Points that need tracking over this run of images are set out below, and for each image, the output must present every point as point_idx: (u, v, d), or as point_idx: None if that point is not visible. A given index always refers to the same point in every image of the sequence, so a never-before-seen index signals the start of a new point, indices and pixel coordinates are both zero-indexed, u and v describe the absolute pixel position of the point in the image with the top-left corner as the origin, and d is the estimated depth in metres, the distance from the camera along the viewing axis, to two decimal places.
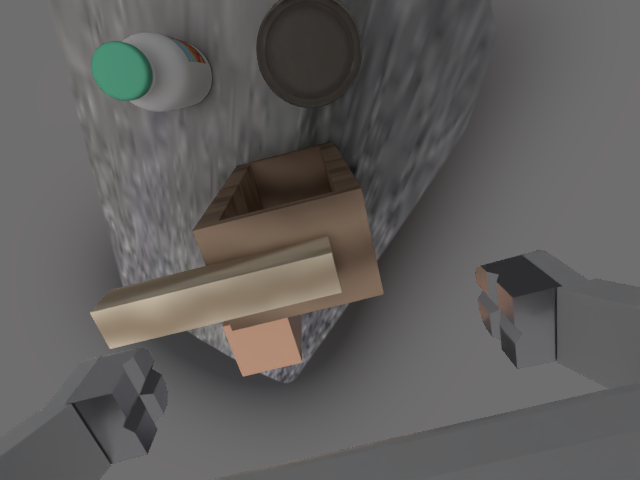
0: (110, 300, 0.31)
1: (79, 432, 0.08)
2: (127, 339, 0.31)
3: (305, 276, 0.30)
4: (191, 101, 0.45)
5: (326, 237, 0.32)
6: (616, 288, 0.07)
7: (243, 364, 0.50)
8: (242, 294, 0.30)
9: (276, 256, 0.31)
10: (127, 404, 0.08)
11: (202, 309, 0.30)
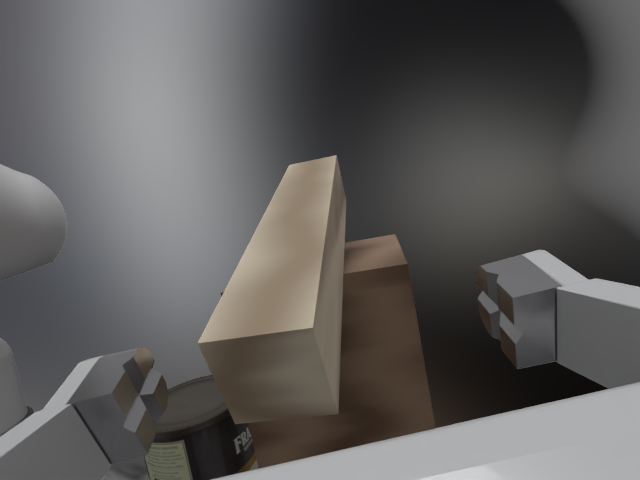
0: None
1: (79, 432, 0.08)
2: (303, 295, 0.12)
3: (304, 170, 0.26)
4: None
5: None
6: (616, 288, 0.07)
7: None
8: (298, 196, 0.22)
9: None
10: (127, 404, 0.08)
11: (298, 219, 0.18)
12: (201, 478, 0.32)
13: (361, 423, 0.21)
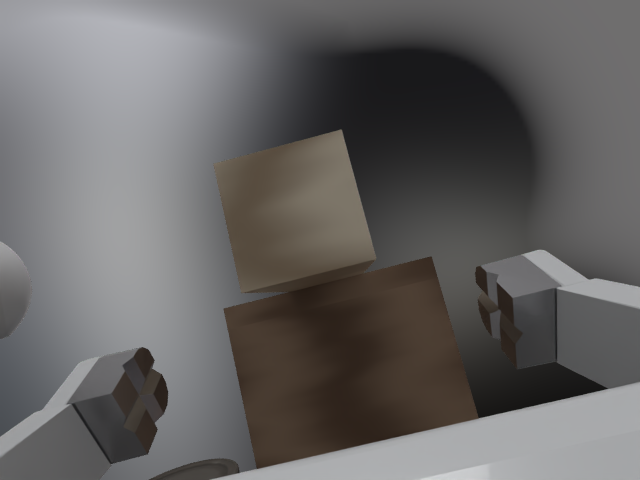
0: None
1: (79, 432, 0.08)
2: None
3: None
4: None
5: None
6: (616, 288, 0.07)
7: None
8: None
9: None
10: (127, 404, 0.08)
11: None
12: None
13: None
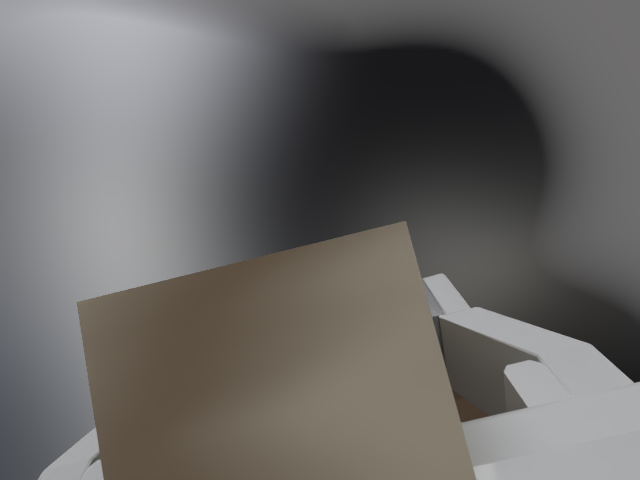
0: None
1: None
2: None
3: None
4: None
5: None
6: (489, 318, 0.07)
7: None
8: None
9: None
10: None
11: None
12: None
13: None
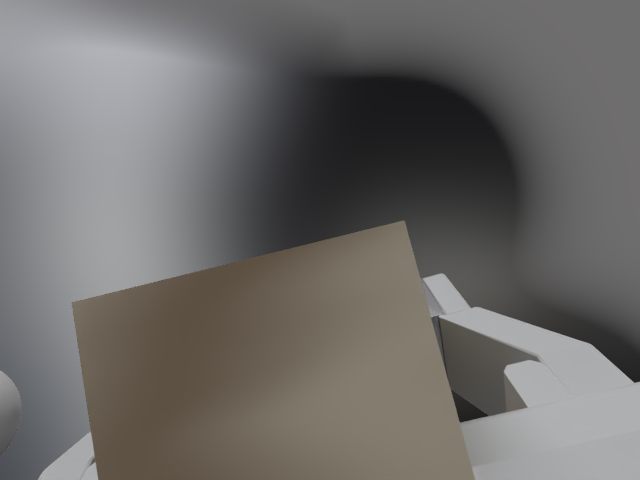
0: None
1: None
2: None
3: None
4: None
5: None
6: (489, 318, 0.07)
7: None
8: None
9: None
10: None
11: None
12: None
13: None
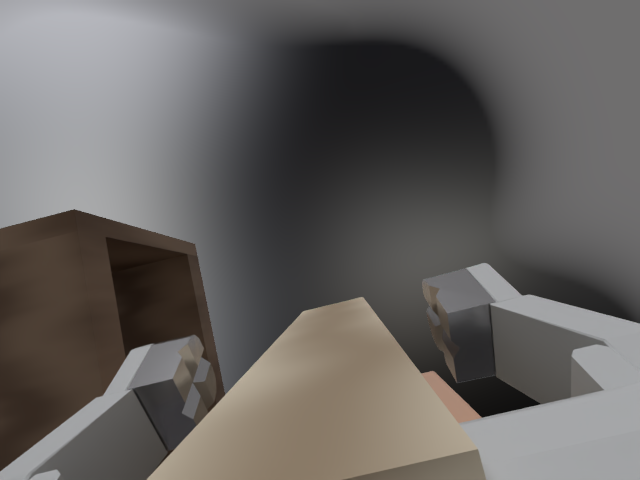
0: None
1: (139, 418, 0.08)
2: (398, 398, 0.05)
3: (325, 309, 0.20)
4: None
5: None
6: (544, 305, 0.07)
7: None
8: (324, 322, 0.15)
9: None
10: (185, 390, 0.08)
11: (334, 333, 0.12)
12: None
13: (20, 414, 0.17)
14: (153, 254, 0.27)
